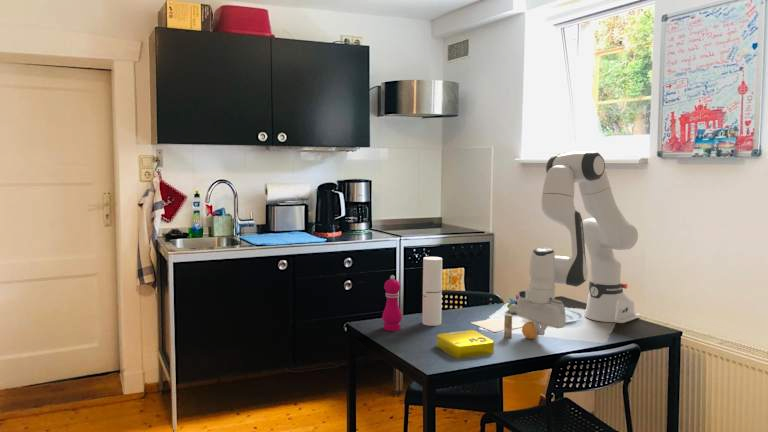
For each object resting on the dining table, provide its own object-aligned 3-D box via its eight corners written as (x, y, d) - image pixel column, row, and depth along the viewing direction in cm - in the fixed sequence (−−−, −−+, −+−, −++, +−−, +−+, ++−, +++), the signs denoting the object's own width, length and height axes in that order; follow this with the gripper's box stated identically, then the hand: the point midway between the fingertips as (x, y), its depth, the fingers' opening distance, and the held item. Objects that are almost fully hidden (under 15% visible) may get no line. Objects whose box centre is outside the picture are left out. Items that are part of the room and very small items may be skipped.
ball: (545, 329, 233) (537, 340, 236) (535, 316, 237) (527, 328, 240) (533, 332, 230) (526, 343, 233) (523, 319, 233) (515, 330, 237)
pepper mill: (389, 332, 241) (390, 278, 239) (378, 327, 247) (378, 274, 245) (405, 329, 245) (406, 275, 243) (393, 324, 251) (394, 272, 249)
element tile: (473, 341, 233) (473, 328, 232) (495, 354, 219) (496, 340, 219) (434, 346, 227) (434, 332, 227) (455, 359, 214) (455, 345, 213)
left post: (508, 335, 238) (508, 313, 237) (513, 337, 236) (513, 315, 235) (502, 336, 237) (503, 314, 236) (507, 338, 235) (507, 316, 234)
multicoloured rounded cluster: (531, 315, 266) (531, 297, 265) (506, 314, 268) (507, 296, 267) (531, 310, 274) (531, 292, 273) (507, 308, 276) (507, 291, 275)
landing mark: (499, 318, 261) (499, 317, 261) (523, 327, 249) (523, 326, 249) (470, 323, 254) (470, 322, 254) (494, 332, 242) (494, 331, 242)
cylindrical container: (435, 326, 249) (436, 260, 246) (418, 323, 253) (419, 258, 250) (444, 322, 255) (445, 257, 252) (427, 319, 259) (428, 255, 256)
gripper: (571, 300, 223) (569, 341, 224) (527, 289, 240) (526, 326, 241) (557, 302, 219) (555, 343, 221) (514, 290, 237) (513, 328, 238)
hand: (539, 334), depth 231 cm, fingers closed
